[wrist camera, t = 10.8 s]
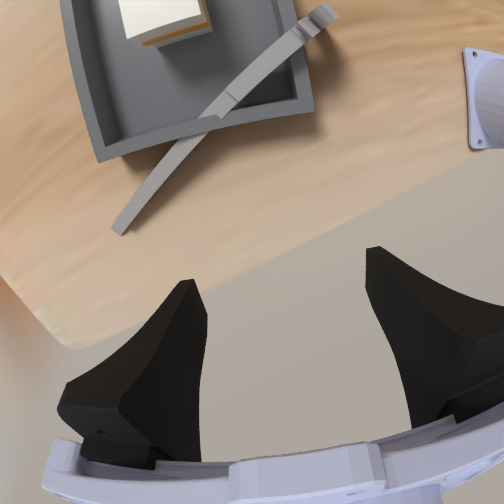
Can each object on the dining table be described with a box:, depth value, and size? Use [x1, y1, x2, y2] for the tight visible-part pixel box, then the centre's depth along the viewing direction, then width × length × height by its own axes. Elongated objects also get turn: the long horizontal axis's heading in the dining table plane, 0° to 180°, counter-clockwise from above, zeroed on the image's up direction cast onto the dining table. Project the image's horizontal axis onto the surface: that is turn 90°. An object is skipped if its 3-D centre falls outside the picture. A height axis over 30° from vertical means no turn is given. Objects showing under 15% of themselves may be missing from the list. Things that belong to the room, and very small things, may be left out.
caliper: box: [111, 2, 340, 236], centre depth 15 cm, size 20×1×6 cm, turn 136°
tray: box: [60, 0, 315, 164], centre depth 12 cm, size 13×17×3 cm
